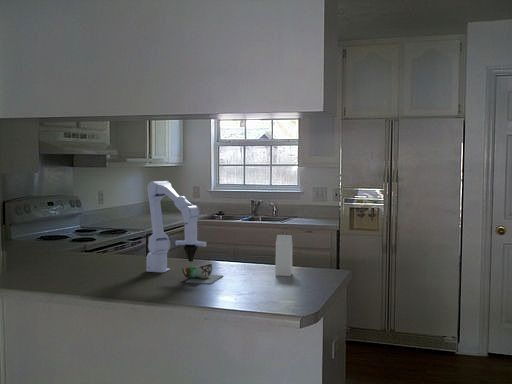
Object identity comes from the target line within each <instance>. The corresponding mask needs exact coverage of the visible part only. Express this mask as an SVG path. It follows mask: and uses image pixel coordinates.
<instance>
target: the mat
mask: <svg viewBox="0 0 512 384" xmlns="http://www.w3.org/2000/svg"><path fill="white" fill-rule="evenodd" d="M223 277H224V275H223V274H222V275H221V274H211V275H210V276H209V277H208V278H205V279H202V278H188V279H187V280H185V283H191V284H202V285H212V284H213V283H215V282H217V281H219V280H220V279H222V278H223Z"/></svg>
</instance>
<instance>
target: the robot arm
mask: <svg viewBox="0 0 512 384" xmlns="http://www.w3.org/2000/svg"><path fill="white" fill-rule="evenodd" d="M146 187H147V188H146V189H147V196H148V203H149V211H150V222H151V228H152V229H151V231H152V234H151V235H150V236H149V237H148V244H147V249H148V251H149V252H148V253H147V255H146V270H145V272H149V273H150V272H152V273H165V272H167V271H170V270H171V268H168V253H169V250H170V249H171V241H170V238H169V235H168V234H166V233H165V231H164V222H163V214H162V213H163V212H162V205H161V200H162V199H163V198H164V197H166V196H167V197H168V198H169V199H171V200H172V201H173V203H174V204H173V205H174V206H175V207H176V208H177V209H178V210H179V211H180V212H181V216H182V219H183V223H184V240H175V246H183V250H184V251H185V253H186V256H187V260H188V262H190V263H191V262H193V261H194V258H195V255H196V252H197V250H198V247H207V241H202V240H201V241H199V240H198V218H199V216H200V213H201V210H200V208H199V206H198V205H196V204H192V203H191V202H189V200H188V199H187V198H186V196H184V195H183V196H182V195H179V194H178V193H177V192H176V190H175V189H174V187H173V186H172V183H171V182H169V180H156V181H154V180H152V181H151V180H150V181H149V183H148V185H147V186H146Z"/></svg>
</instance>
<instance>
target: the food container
mask: <svg viewBox="0 0 512 384" xmlns="http://www.w3.org/2000/svg"><path fill="white" fill-rule="evenodd" d="M181 270H182V274H183V276H184V277H185V278H186V279H191V278H202V279H205V278H208V277H209V276H210V275H212V271H213V263H207V264H200V265H193V266H189V267H188V266H187V267H182V268H181Z"/></svg>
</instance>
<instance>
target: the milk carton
mask: <svg viewBox="0 0 512 384" xmlns="http://www.w3.org/2000/svg"><path fill="white" fill-rule="evenodd" d="M292 237H293V235H290V234H289V235H287V234H286V235H285V234H276V239H275V263H274V265H275V266H274V267H275V270H274V271H275V273H274V274H275V276H276V277H277V276H278V277H279V276H280V277H291V275H292V274H293V243H294V242H293V238H292Z"/></svg>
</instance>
